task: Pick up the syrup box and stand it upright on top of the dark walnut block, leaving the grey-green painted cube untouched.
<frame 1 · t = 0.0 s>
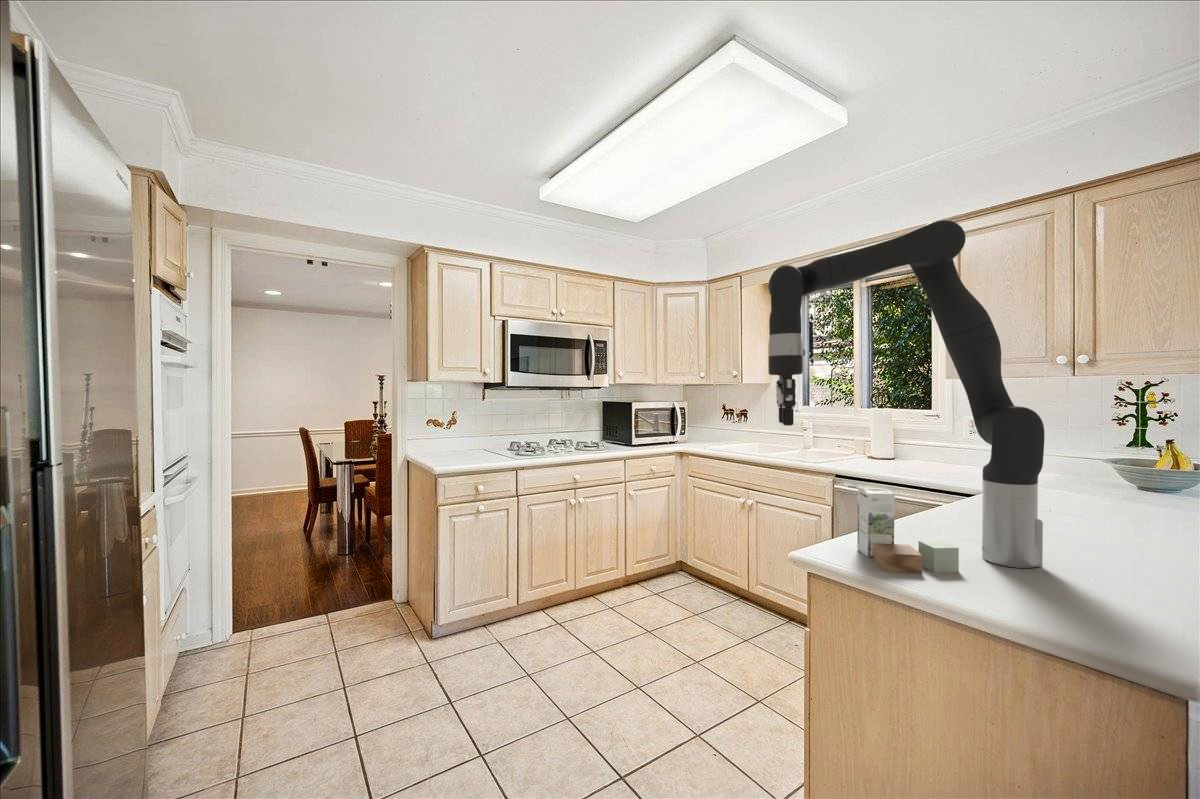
hand: (785, 424, 119), 29 cm above the countertop, fingers open, 8 cm apart
syrup box: (875, 554, 116), on the countertop
grey-green cube: (938, 568, 106), on the countertop
walnut block: (897, 567, 107), on the countertop
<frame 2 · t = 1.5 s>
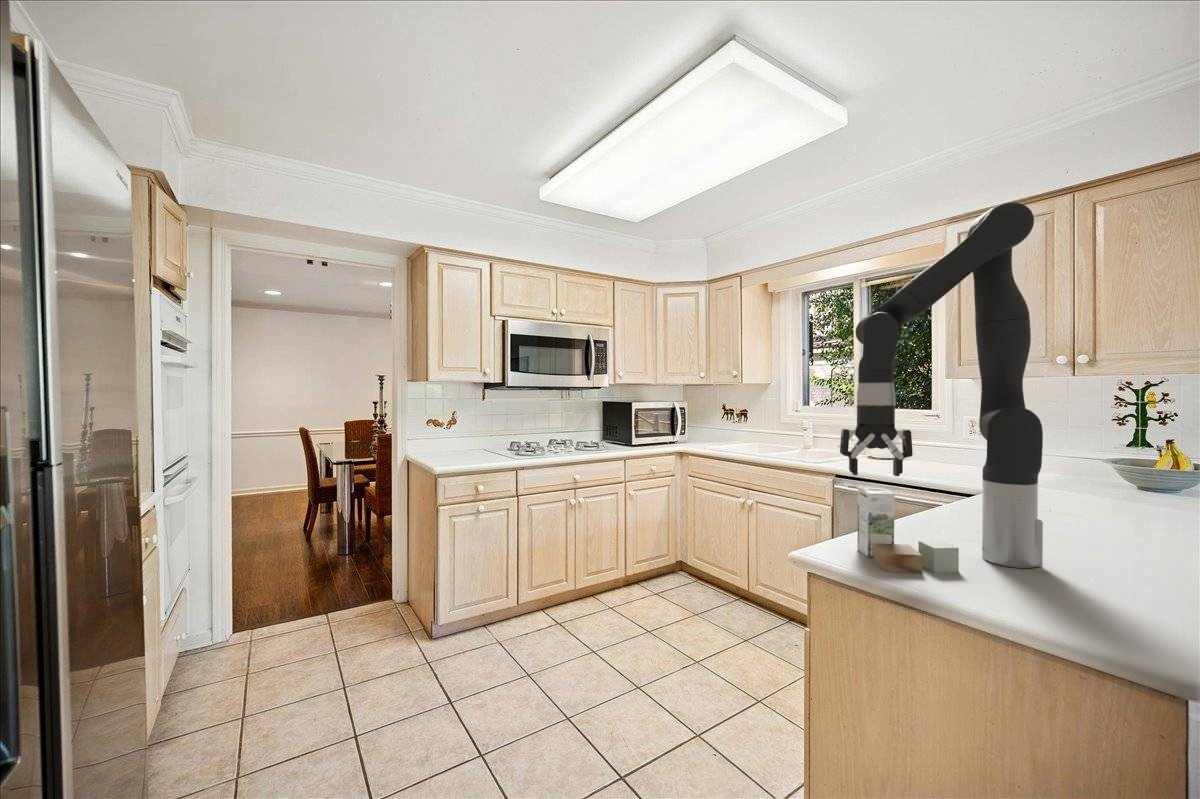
hand: (875, 475, 115), 18 cm above the countertop, fingers open, 8 cm apart
nothing on the countertop moved.
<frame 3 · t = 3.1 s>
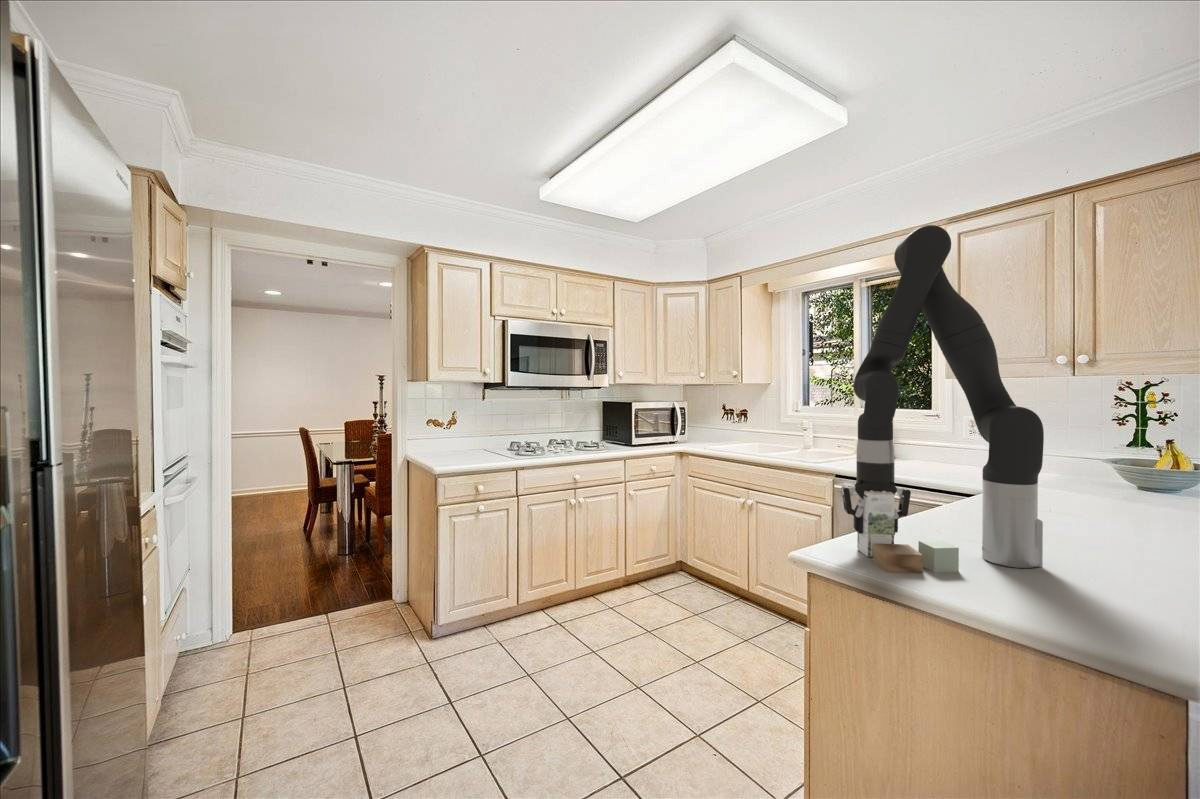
hand: (875, 533, 116), 5 cm above the countertop, fingers closed on syrup box, 6 cm apart
syrup box: (875, 554, 116), on the countertop, touching gripper
everything else where it was.
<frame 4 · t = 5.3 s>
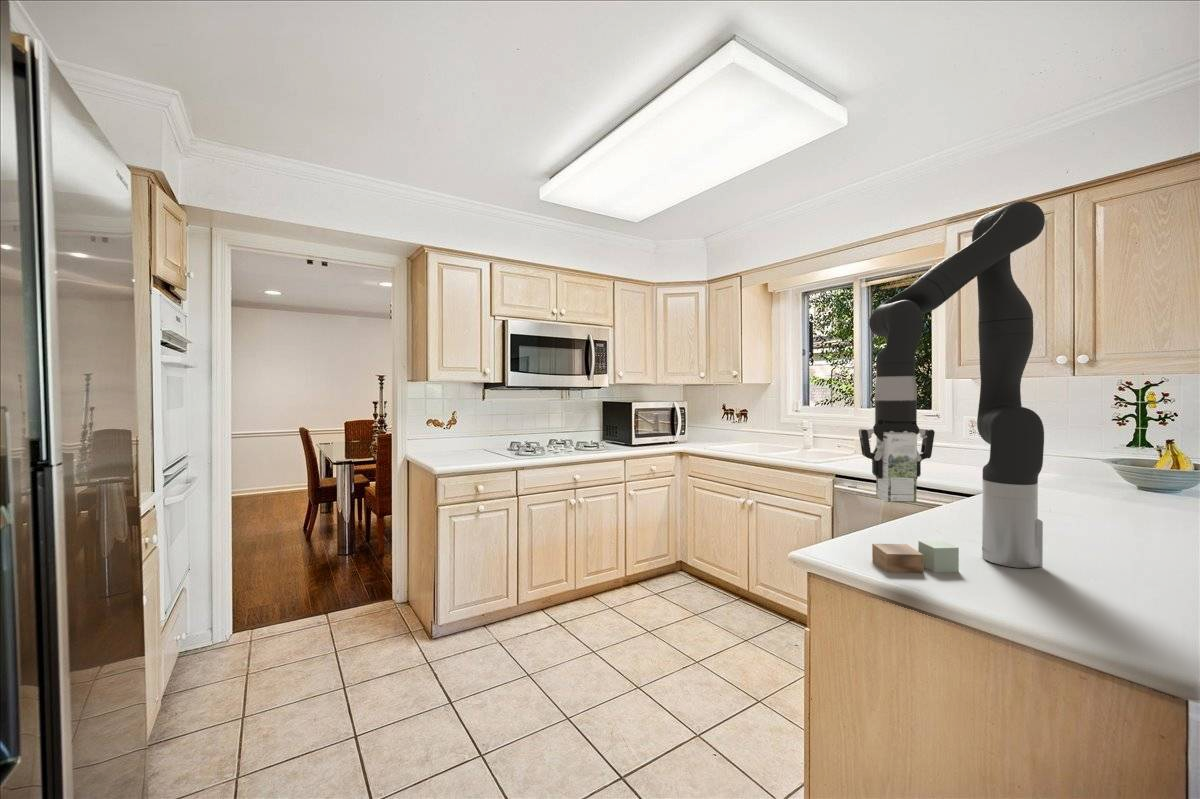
hand: (895, 478, 107), 19 cm above the countertop, fingers closed on syrup box, 6 cm apart
syrup box: (896, 501, 108), point 14 cm above the countertop, touching gripper
everything else where it was.
when the fingers open (10 cm above the countertop, at t = 7.5 s): syrup box drops 1 cm, resting on walnut block.
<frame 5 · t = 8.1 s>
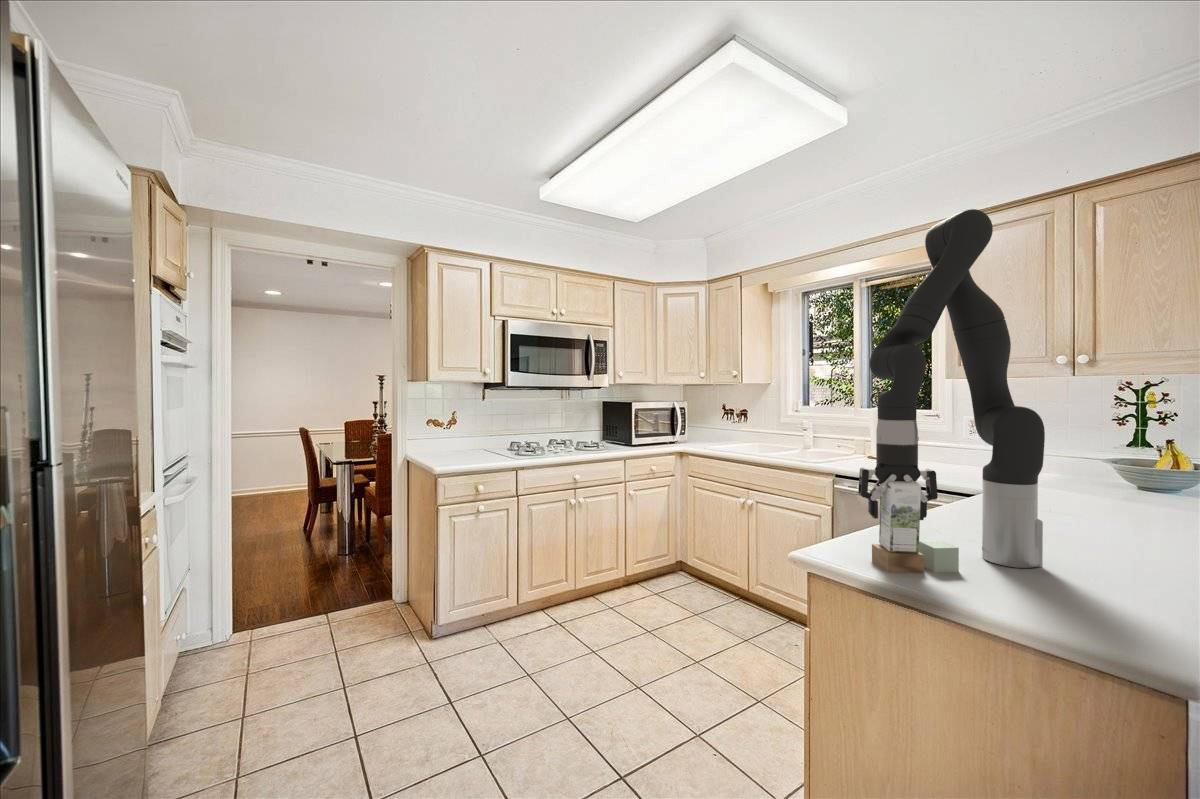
hand: (896, 518, 107), 10 cm above the countertop, fingers open, 8 cm apart
syrup box: (898, 549, 107), point 4 cm above the countertop, touching walnut block
walnut block: (896, 568, 107), on the countertop, touching syrup box
everything else where it was.
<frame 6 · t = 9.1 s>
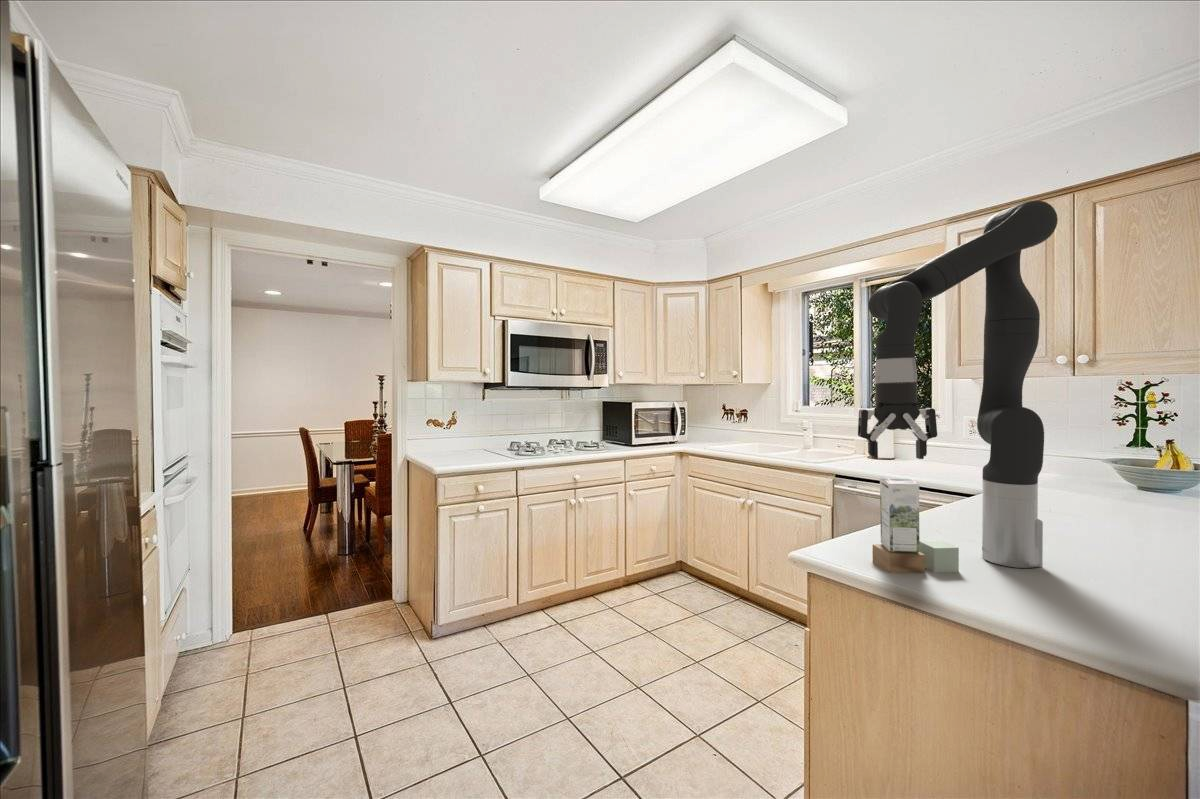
hand: (896, 458, 107), 23 cm above the countertop, fingers open, 8 cm apart
nothing on the countertop moved.
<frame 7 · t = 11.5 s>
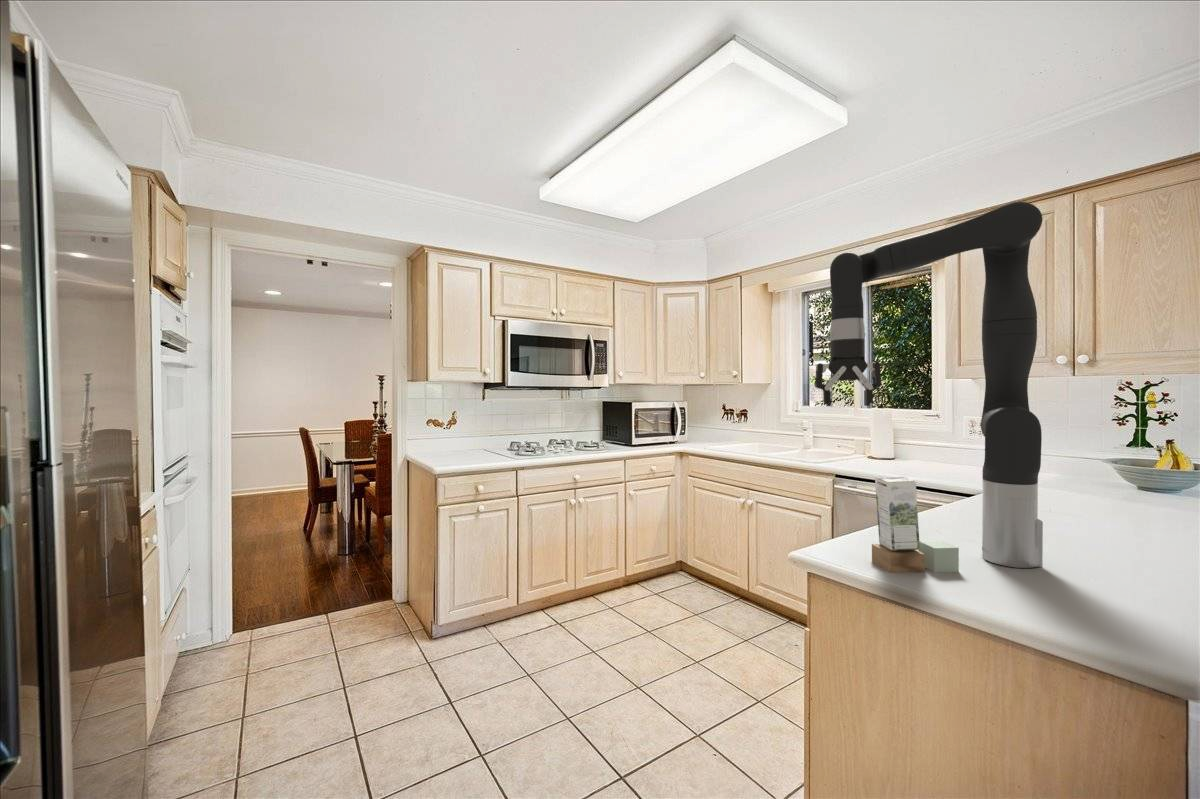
hand: (847, 406, 124), 33 cm above the countertop, fingers open, 8 cm apart
at the end: syrup box 0.7 cm off-centre on the walnut block, point 4.2 cm above the walnut block's base; syrup box tilted 6°; the gripper is holding nothing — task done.
